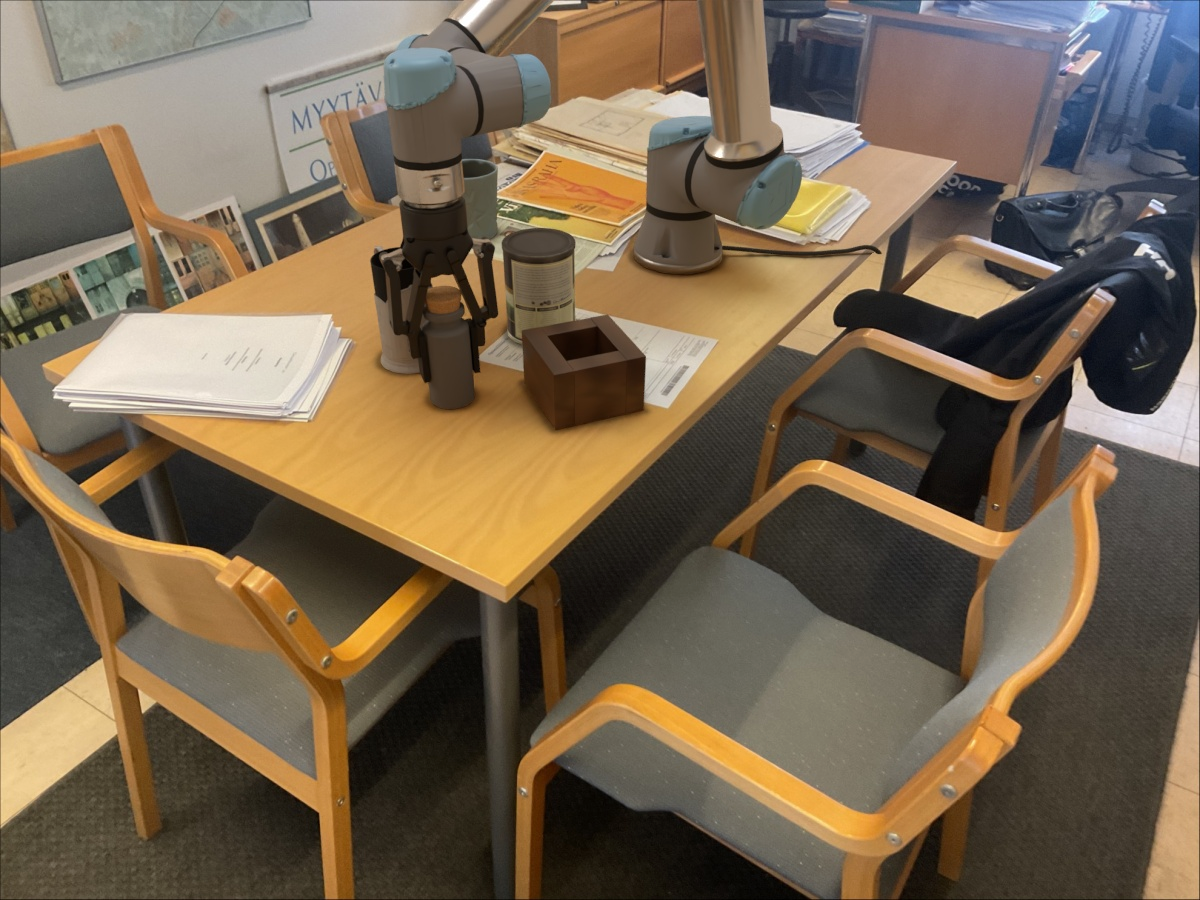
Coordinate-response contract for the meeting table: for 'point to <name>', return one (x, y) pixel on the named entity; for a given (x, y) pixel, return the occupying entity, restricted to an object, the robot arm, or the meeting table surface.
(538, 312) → the coffee can
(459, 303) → the bottle
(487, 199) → the grey cup
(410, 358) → the glass holder
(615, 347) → the bottle stand
